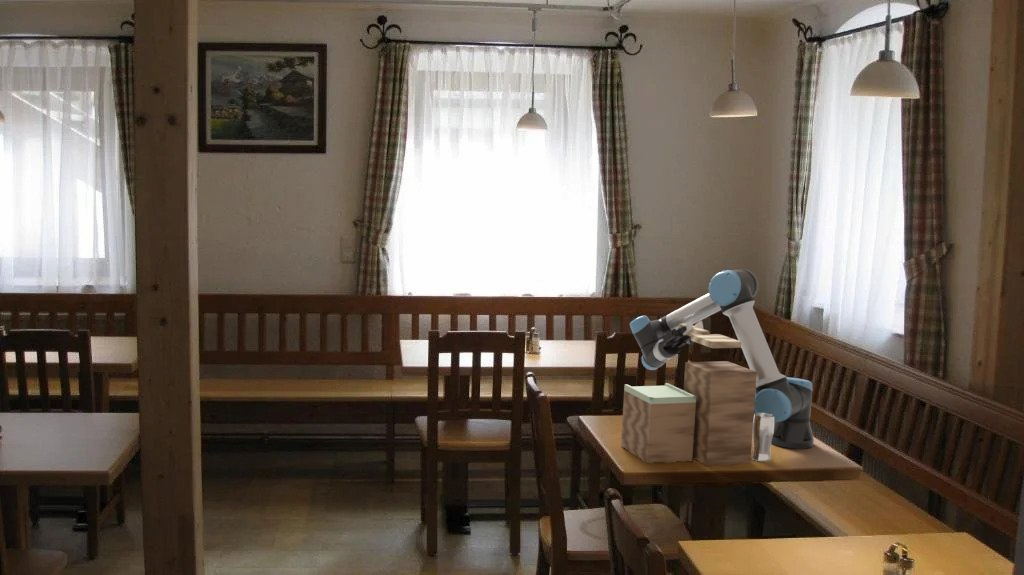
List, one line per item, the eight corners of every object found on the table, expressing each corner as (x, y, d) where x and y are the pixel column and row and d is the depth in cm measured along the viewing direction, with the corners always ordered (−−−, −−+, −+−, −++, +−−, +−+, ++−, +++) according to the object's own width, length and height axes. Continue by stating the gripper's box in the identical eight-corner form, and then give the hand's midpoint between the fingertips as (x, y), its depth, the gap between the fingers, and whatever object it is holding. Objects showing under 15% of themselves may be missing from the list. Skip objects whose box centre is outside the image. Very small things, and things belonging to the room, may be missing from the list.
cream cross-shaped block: (668, 332, 351) (669, 323, 350) (696, 332, 354) (696, 323, 354) (711, 348, 323) (712, 338, 322) (740, 347, 326) (741, 338, 325)
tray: (624, 390, 340) (624, 384, 340) (667, 388, 345) (667, 383, 345) (650, 404, 321) (651, 397, 321) (695, 402, 326) (696, 396, 326)
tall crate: (679, 450, 341) (685, 362, 337) (722, 448, 346) (727, 361, 342) (706, 465, 324) (712, 373, 320) (750, 463, 329) (756, 372, 325)
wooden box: (621, 446, 342) (624, 390, 340) (663, 444, 347) (667, 388, 345) (647, 463, 323) (650, 404, 321) (692, 460, 328) (695, 402, 326)
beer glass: (772, 463, 330) (775, 418, 328) (750, 461, 331) (753, 416, 329) (771, 457, 336) (774, 413, 335) (749, 455, 338) (753, 411, 336)
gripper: (689, 357, 364) (720, 334, 344) (648, 358, 359) (677, 335, 339) (685, 337, 367) (715, 314, 347) (645, 338, 362) (673, 314, 342)
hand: (696, 324), depth 343 cm, fingers closed on cream cross-shaped block, 3 cm apart
